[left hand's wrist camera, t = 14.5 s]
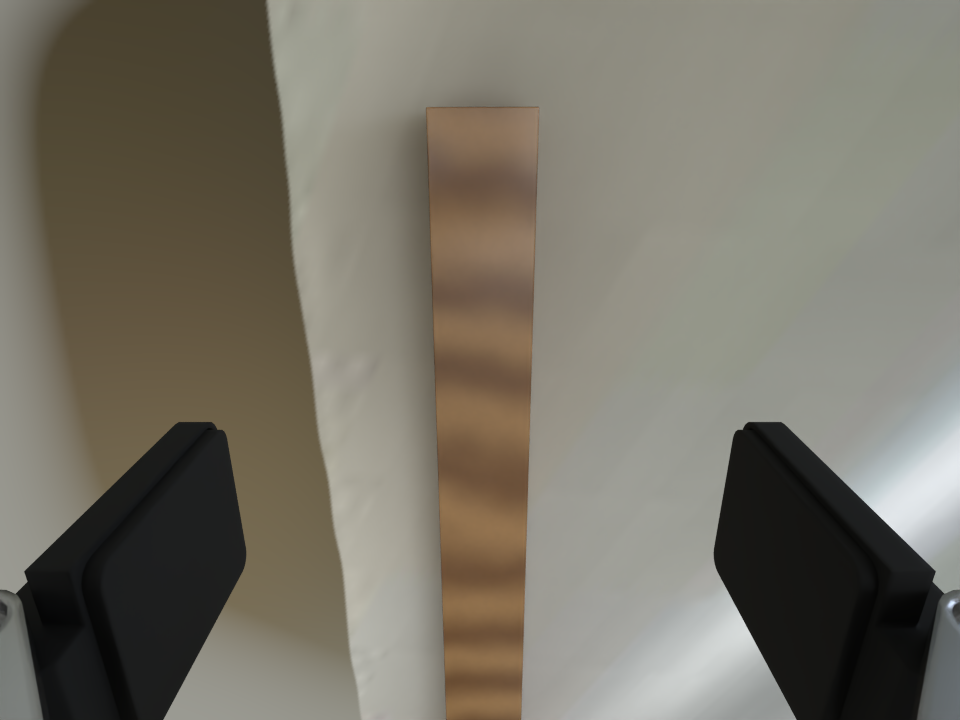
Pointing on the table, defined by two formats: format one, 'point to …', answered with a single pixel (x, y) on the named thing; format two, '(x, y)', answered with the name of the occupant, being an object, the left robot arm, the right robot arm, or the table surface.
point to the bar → (483, 392)
